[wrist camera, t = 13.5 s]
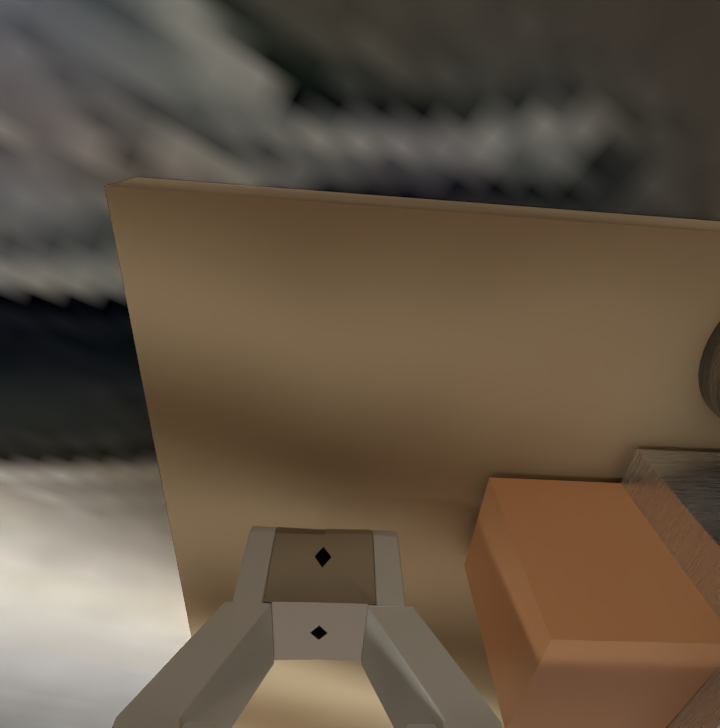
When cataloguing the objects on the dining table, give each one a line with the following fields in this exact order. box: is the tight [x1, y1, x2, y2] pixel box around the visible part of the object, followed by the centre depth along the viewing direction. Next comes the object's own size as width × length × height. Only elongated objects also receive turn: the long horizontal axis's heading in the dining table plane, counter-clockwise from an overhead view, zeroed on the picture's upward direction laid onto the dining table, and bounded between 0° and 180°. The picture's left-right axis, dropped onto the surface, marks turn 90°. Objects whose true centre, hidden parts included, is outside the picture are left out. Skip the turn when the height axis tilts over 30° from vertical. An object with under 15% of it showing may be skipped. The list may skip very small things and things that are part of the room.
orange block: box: [464, 477, 720, 728], centre depth 9 cm, size 3×3×4 cm
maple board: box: [105, 177, 720, 728], centre depth 14 cm, size 24×16×1 cm, turn 176°
